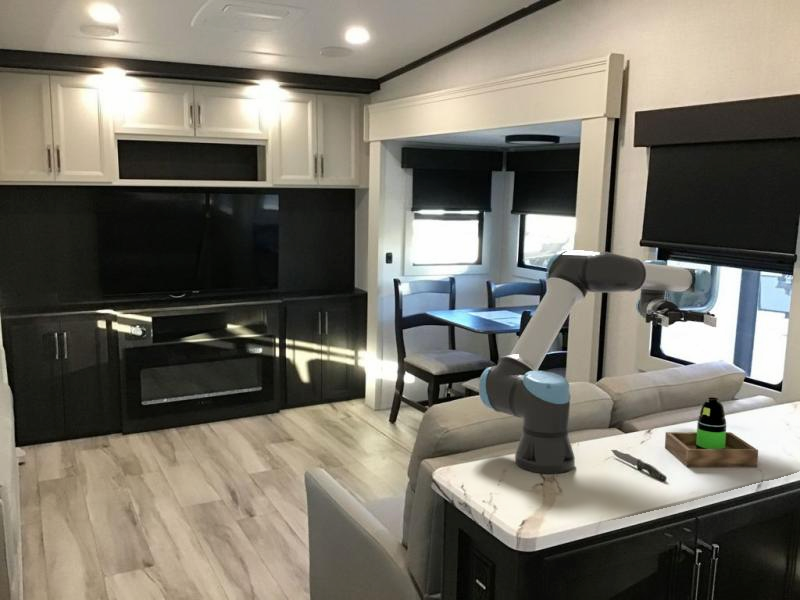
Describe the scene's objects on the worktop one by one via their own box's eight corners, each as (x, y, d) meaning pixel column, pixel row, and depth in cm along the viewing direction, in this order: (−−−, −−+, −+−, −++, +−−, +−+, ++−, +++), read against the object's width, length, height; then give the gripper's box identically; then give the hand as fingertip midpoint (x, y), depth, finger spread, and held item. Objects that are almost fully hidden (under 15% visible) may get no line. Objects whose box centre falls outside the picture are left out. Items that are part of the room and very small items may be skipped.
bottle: (703, 447, 190) (706, 393, 189) (730, 454, 185) (733, 399, 183) (690, 452, 186) (693, 398, 184) (717, 460, 180) (720, 403, 179)
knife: (608, 457, 187) (609, 446, 186) (612, 456, 187) (613, 445, 187) (663, 484, 168) (663, 472, 167) (667, 483, 168) (668, 471, 168)
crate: (686, 467, 178) (687, 450, 178) (664, 447, 193) (665, 432, 192) (757, 467, 178) (758, 450, 177) (729, 447, 193) (730, 432, 192)
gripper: (702, 324, 219) (734, 335, 197) (622, 323, 219) (646, 335, 198) (703, 300, 218) (735, 309, 197) (623, 300, 218) (647, 309, 197)
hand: (691, 322), depth 197 cm, fingers open, 13 cm apart
